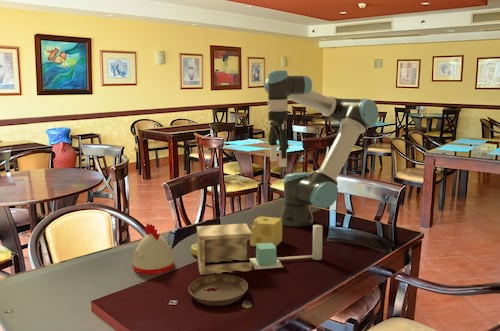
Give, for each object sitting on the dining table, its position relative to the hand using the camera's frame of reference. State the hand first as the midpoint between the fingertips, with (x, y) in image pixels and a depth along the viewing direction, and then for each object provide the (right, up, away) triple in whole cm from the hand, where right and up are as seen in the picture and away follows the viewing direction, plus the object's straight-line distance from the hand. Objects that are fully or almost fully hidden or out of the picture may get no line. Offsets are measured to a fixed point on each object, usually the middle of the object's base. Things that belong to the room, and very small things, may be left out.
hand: (278, 163), depth 182 cm
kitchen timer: (-45, -36, -23) cm, 62 cm away
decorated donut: (-28, -34, -11) cm, 46 cm away
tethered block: (+3, -35, -19) cm, 40 cm away
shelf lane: (-20, -36, -24) cm, 47 cm away
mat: (-6, -35, -21) cm, 41 cm away
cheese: (-5, -32, -1) cm, 33 cm away
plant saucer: (-21, -40, -46) cm, 64 cm away
